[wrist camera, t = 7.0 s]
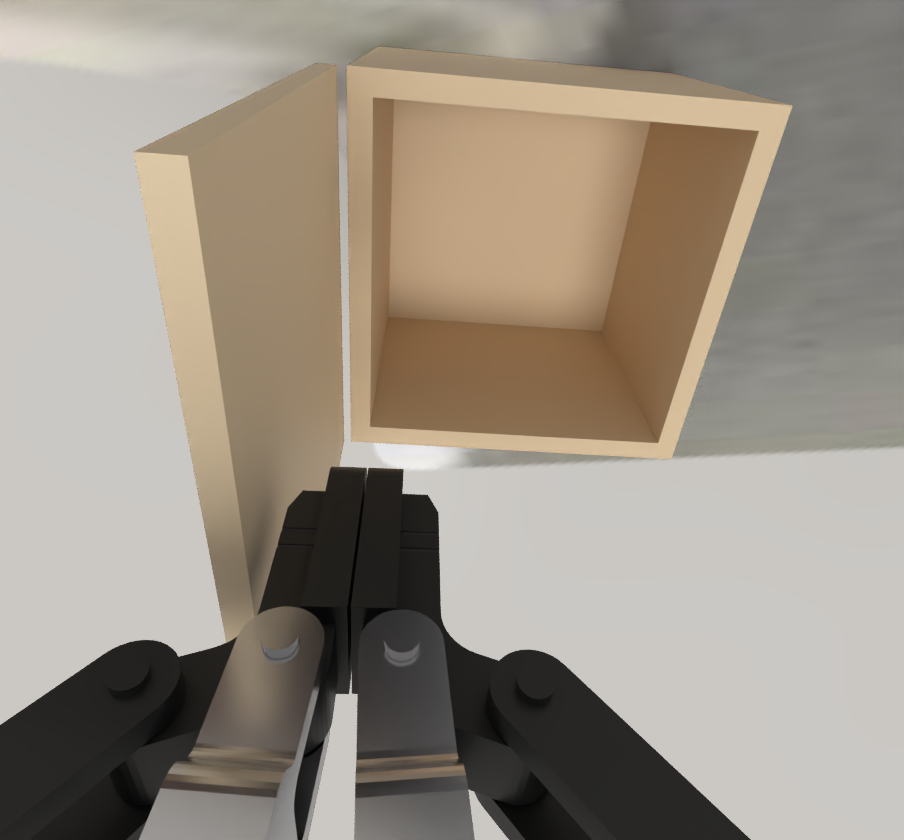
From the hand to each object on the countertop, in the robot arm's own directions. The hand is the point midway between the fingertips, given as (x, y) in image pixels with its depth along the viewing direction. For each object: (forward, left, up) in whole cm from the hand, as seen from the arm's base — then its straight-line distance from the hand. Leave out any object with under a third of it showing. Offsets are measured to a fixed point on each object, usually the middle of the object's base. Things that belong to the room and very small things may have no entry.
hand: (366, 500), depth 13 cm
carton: (-5, 0, -24) cm, 24 cm away
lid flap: (+2, 0, -5) cm, 5 cm away
